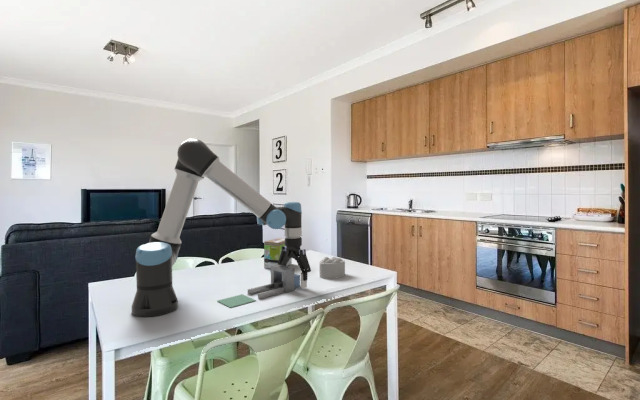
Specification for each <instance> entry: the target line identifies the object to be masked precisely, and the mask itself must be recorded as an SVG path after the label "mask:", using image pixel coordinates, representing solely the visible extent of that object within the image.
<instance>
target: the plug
mask: <svg viewBox="0 0 640 400" xmlns="http://www.w3.org/2000/svg"><path fill="white" fill-rule="evenodd" d="M281 287H283V281H280V282H276V283H274V288H273V289H277V288H281ZM298 287H301V274H298V273H295V272H294V289H295V288H298Z"/></svg>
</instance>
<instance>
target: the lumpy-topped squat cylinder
mask: <svg viewBox="0 0 640 400" xmlns="http://www.w3.org/2000/svg"><path fill="white" fill-rule="evenodd" d="M345 276H346V261H345V260H344V259H342V258H340V257H335V256H332V257H331V258H329V257H328V256H325V257H324V258H323V259H321V260H320V261H319V278H321V279H323V280H324V279H326V280H328V279H329V280H331V279H338V278H339V279H340V278H342V277H345Z"/></svg>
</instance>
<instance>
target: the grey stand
mask: <svg viewBox="0 0 640 400" xmlns="http://www.w3.org/2000/svg"><path fill="white" fill-rule="evenodd" d="M282 273H283V287H281V288H277V289H274V283H276V282H280V281H282ZM294 273H295V268H294V267H292V266H291V267H290V266H288V265H287V266H284V265H280V264H278V265H273V266H271V269H270V283H269V284H264V285H261V286H256V287H251V288H247V295H248V296H250V295H253V294H257V299H258V300H261V299H264V298H265V299H266V298H269V297H273V296H275V295H276V296H277V295H281V294H283V293H289V292H290V293H291V292H293V291H295V288H294Z"/></svg>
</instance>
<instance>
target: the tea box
mask: <svg viewBox="0 0 640 400" xmlns="http://www.w3.org/2000/svg"><path fill="white" fill-rule="evenodd" d="M285 238H286V237H275V238H272V239H268V240H264V241H263V242H264V244H263V247H264V248H263V268H264V269H268V270H269V269H270V270H271V266H273V265H278V261H279V257H280V254H281V251H282V246H285ZM292 259H293V258H290V260H289V261H288V263H287V265H286V266H287V267H288V266H290V265H292V263H293V260H292Z"/></svg>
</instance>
